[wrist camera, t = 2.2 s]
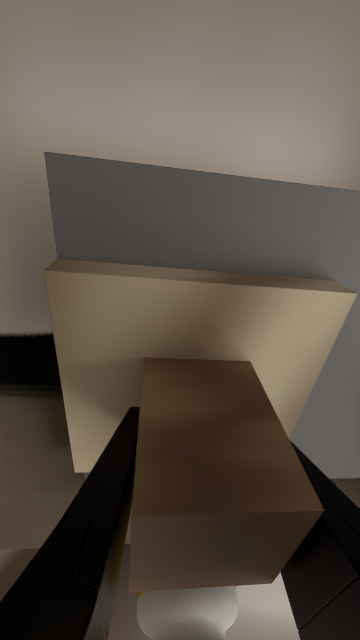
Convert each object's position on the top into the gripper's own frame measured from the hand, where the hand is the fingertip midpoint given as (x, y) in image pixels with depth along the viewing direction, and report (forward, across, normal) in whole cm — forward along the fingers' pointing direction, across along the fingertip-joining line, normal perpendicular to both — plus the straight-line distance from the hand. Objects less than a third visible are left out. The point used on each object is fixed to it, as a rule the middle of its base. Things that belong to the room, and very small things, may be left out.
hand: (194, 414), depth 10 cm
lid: (+2, 0, 0) cm, 2 cm away
